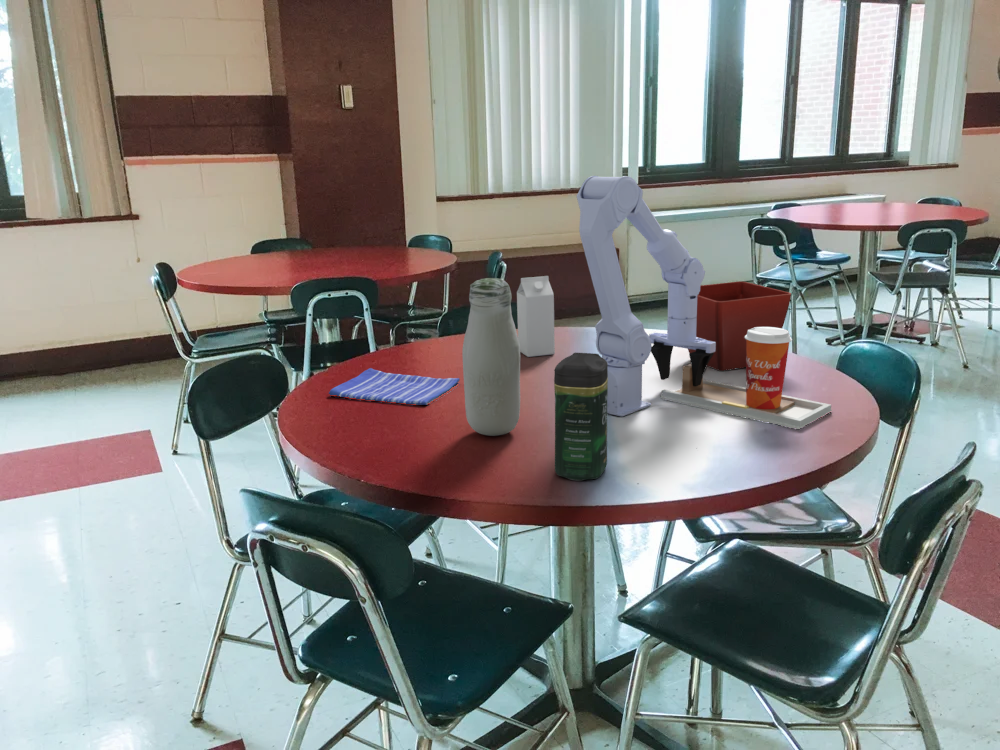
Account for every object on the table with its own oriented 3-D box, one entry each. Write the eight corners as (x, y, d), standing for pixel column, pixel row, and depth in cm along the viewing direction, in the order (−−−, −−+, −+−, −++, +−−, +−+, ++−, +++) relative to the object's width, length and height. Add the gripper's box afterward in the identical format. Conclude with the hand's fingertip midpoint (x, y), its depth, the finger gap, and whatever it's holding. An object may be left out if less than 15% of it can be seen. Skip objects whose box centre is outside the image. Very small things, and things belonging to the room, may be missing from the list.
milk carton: (518, 351, 204) (516, 276, 199) (544, 348, 206) (543, 274, 201) (527, 357, 198) (525, 280, 192) (554, 354, 200) (553, 277, 194)
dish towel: (369, 378, 186) (368, 366, 185) (462, 386, 177) (461, 374, 176) (326, 399, 171) (325, 386, 170) (425, 409, 162) (425, 396, 161)
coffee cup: (732, 409, 152) (737, 331, 148) (751, 399, 158) (756, 324, 154) (775, 418, 147) (781, 338, 143) (793, 407, 153) (800, 329, 149)
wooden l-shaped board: (770, 416, 147) (772, 387, 146) (673, 395, 162) (673, 368, 161) (794, 404, 154) (796, 376, 152) (698, 385, 168) (699, 359, 167)
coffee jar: (601, 484, 122) (601, 365, 117) (550, 480, 124) (548, 363, 119) (611, 461, 131) (612, 349, 126) (563, 457, 133) (562, 347, 128)
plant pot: (714, 377, 176) (717, 300, 171) (670, 357, 193) (671, 287, 189) (789, 367, 181) (794, 293, 177) (739, 349, 199) (742, 281, 194)
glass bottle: (462, 442, 141) (454, 283, 134) (472, 423, 151) (465, 274, 144) (518, 443, 140) (513, 282, 132) (524, 424, 150) (520, 273, 142)
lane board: (798, 430, 142) (799, 419, 141) (660, 398, 162) (660, 389, 162) (831, 412, 151) (832, 402, 150) (696, 384, 171) (696, 375, 170)
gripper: (725, 317, 160) (722, 383, 163) (663, 309, 170) (662, 371, 173) (705, 323, 155) (703, 391, 159) (643, 314, 165) (642, 378, 169)
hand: (680, 381), depth 166 cm, fingers open, 7 cm apart
